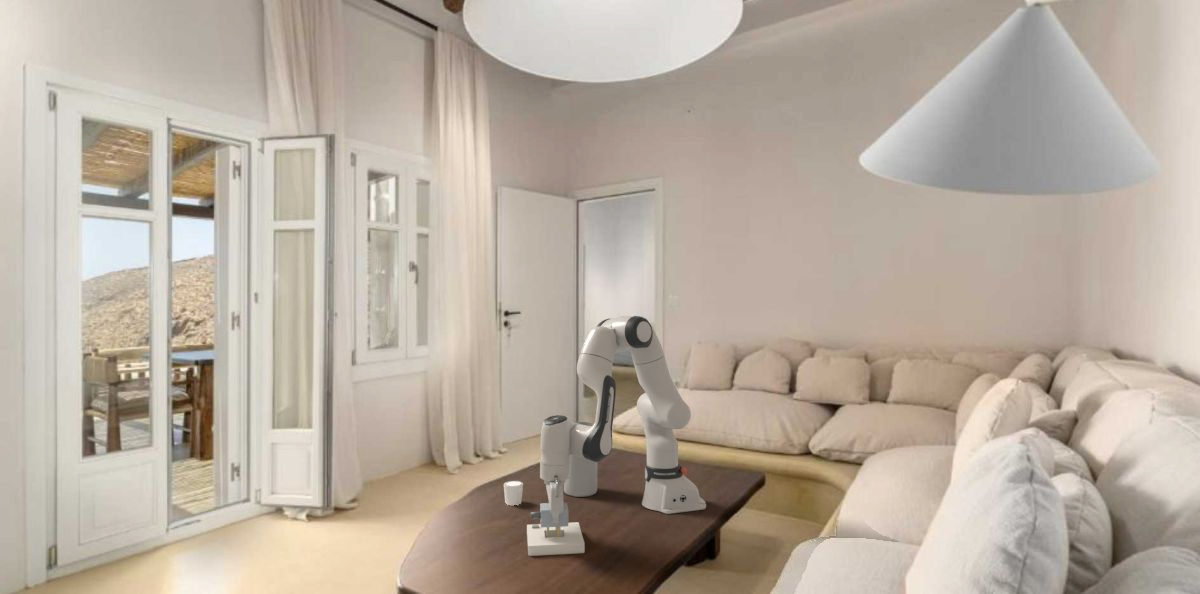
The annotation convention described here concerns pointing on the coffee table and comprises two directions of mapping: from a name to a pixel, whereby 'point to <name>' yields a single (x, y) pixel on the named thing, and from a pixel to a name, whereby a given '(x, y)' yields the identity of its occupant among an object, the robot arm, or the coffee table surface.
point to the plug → (546, 517)
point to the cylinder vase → (581, 475)
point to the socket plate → (554, 540)
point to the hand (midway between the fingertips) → (554, 517)
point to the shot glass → (513, 492)
